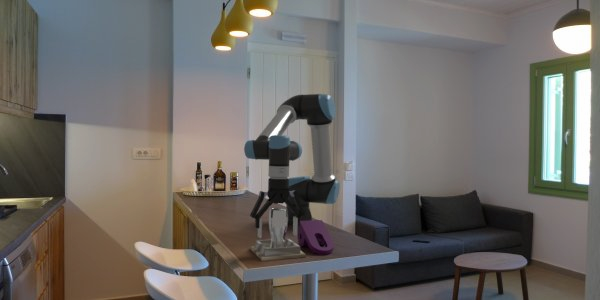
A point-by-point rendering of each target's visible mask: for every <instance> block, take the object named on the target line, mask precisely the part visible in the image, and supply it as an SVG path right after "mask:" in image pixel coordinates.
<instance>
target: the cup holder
mask: <svg viewBox="0 0 600 300" xmlns="http://www.w3.org/2000/svg"><path fill="white" fill-rule="evenodd" d="M270 243H271V238H268V239H258V240H255V245H252V246H251V245H250V250H251V251H252V252H253V254H254V255H256V257H258V259H260V261H261V262H264V261H265V262H266V261H267V262H268V261H279V260H288V259H297V258H298V259H299V258H306V257H307V254H306V253H305V252H303V251H302V250H301V246H300V245H299V243H296V242H294V241H293V240H292V239H290V238H289V237H287V238H286V237H285V245H286V247H278V248H270Z"/></svg>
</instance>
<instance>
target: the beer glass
mask: <svg viewBox="0 0 600 300" xmlns="http://www.w3.org/2000/svg"><path fill="white" fill-rule="evenodd" d="M288 225H289V224H288V209H286V207H272V208H269V213H268V229H269V235H270V239H271V243H270V248H278V247H286V245H285V238H286V237H287V232H288V231H287V230H288Z"/></svg>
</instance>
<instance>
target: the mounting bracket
mask: <svg viewBox="0 0 600 300" xmlns="http://www.w3.org/2000/svg"><path fill="white" fill-rule="evenodd" d="M297 241H298V243H297V244H298V245H299V246H300V248H301V247H304V248H305V247H308V248H309V249H310V250H311V251H312V252H313V253H314V254H317V255H321V256H322V255H330V254H331V253H333V252H334V248H335V242H334V239H333V238H332V236H331V234H330V232H329V230H328V229H327V227H326V225H325V223H324V221H323V220H322V219H320V220H319V219H317V220H316V219H315V220H314V219H312V220H311V221H300V225H299V226H298V228H297Z"/></svg>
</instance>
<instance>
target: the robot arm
mask: <svg viewBox="0 0 600 300" xmlns="http://www.w3.org/2000/svg"><path fill="white" fill-rule="evenodd" d="M335 118H336V105H335V100H334V98H333V97H332V96H331V95H330V94H324V93H323V94H322V93H312V94H311V93H310V94H309V93H308V94H297V95H293V96H292V97H290V98H288V99H287V100H285V101H284V102H282V103H281V104H280V105H279V107H277V109H276V114H275V115H274V116H273V118H272V119H271V120H270V121H269V123H268V124H267V125H266V126H265V128H264V129H263V130H262V131H261V132H260V134H259V135H258V136H257V138H256V139H255V140H254V139H251V140H246V142H245V144H244V148H243V151H244V156H245V157H246V158H247V159H251V160H255V161H256V160H257V161H258V160H263V161H264V160H268V177H269V178H268V182H267V183H268V187H267V191H263V190H260V191H259V192H258V198H257V200H256V202H255V204H254V206H253V208H252V210H251V212H250V214H249V216H250V217H251V218H252V219H254V227H255V228H256V229H257V238H259V239H261V238H262V233H263V219H262V218H261V217H262V216H263V215H264V214H265V213H266V212H267V210H268V209H270V207H271V206H272V205H273V204H276V205H277V204H285V206H286V207H285V208H286V209H288V225H291V226H292V235H293V236H297V237H298V227H299V225H300V221H311V220H313V215H312V211H311V208H310V203H313V204H324V205H334V204H335V203H336V202H337V200H338V198H339V194H340V189H341V187H340V186H341V185H340V184H341V183H340V181H339V180H338V179H336V176H335V174H334V173H333V172H332V168H333V167H332V156H331V139H330V125H331V124H332V123H333V120H335ZM297 120H306V125H308V126H309V127H310V132H311V133H310V135H311V150H312V163H313V175H312V176H309V175H304V176H295V177H290V161H295V160H298V159H299V158H300V157H301V156H302V153H303V147H302V146H301V144H300V143H299V142H298V141H295V140H291V138H290V136H289V135H284V133H285V131H286V130H287V129H288V128H289V126H290V125H291V124H293V123H294V122H295V121H297ZM289 177H290V178H289ZM266 197H268V198H267V200H266V201H265V203H264V204H263V201H264V199H266ZM262 204H263V206H262V207H261V205H262ZM260 207H261V208H260Z"/></svg>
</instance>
